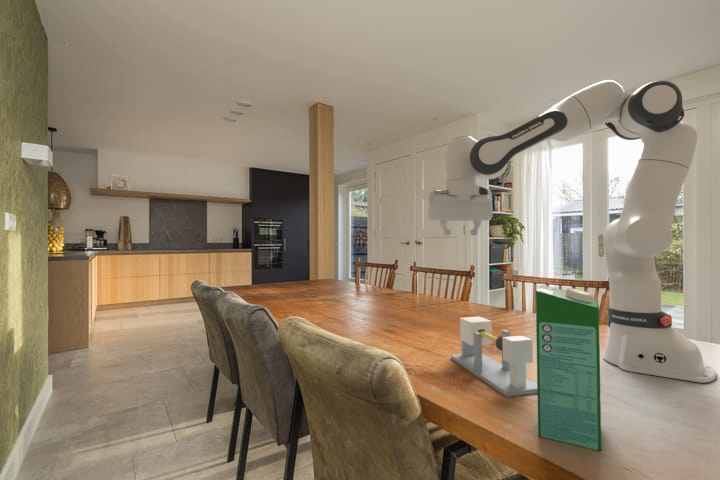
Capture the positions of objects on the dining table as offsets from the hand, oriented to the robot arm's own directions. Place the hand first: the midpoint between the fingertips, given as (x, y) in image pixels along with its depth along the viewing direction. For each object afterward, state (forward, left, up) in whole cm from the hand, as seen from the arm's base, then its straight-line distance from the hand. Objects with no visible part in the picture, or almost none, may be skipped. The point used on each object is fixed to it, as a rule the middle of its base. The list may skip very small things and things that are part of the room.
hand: (460, 235), depth 113 cm
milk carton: (-40, +30, -35) cm, 61 cm away
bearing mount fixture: (-17, +14, -35) cm, 41 cm away
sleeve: (-10, +10, -29) cm, 32 cm away
